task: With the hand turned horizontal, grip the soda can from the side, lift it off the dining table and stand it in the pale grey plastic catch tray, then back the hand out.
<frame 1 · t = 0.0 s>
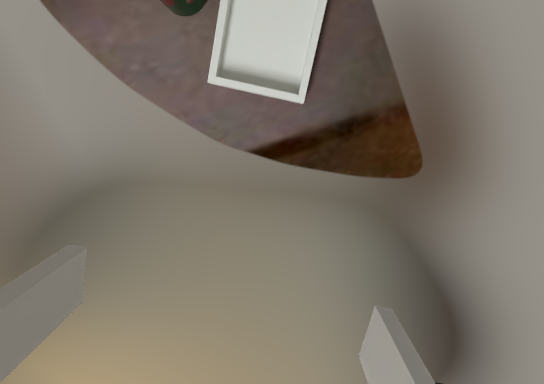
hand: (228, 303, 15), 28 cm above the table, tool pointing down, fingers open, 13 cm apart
catch tray: (269, 31, 38), on the table
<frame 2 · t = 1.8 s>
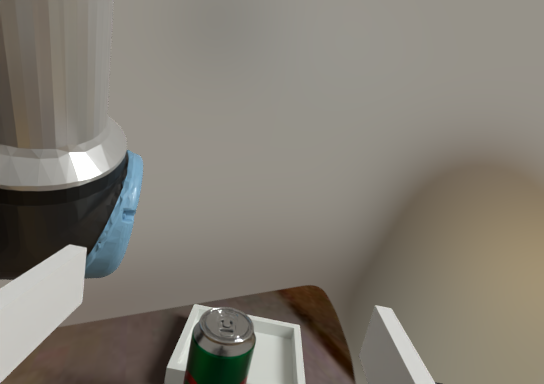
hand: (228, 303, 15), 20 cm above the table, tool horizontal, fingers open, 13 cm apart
catch tray: (238, 361, 39), on the table
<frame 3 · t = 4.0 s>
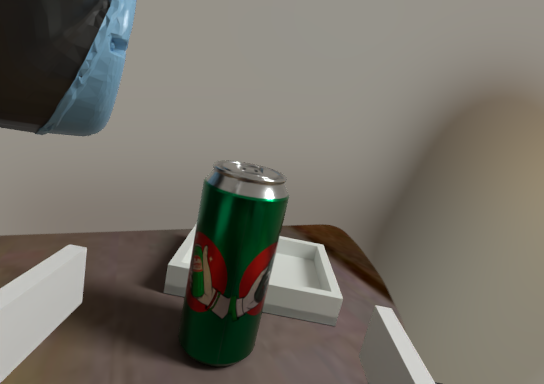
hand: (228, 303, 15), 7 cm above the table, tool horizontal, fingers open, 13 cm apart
soda can: (215, 345, 22), on the table
catch tray: (254, 276, 32), on the table
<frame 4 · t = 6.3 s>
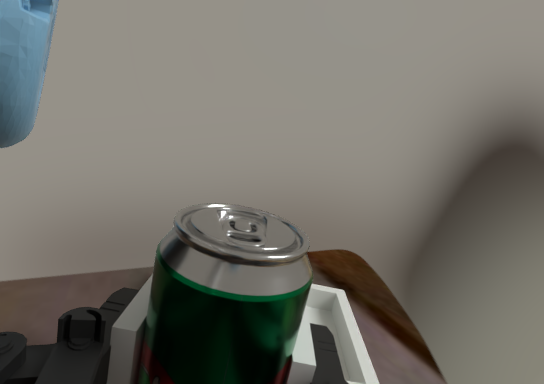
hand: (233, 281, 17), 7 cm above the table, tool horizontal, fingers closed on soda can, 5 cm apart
catch tray: (252, 343, 23), on the table
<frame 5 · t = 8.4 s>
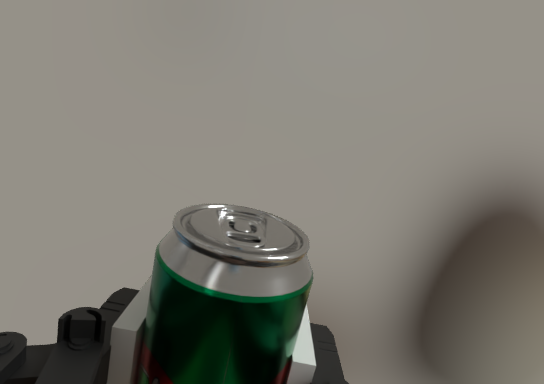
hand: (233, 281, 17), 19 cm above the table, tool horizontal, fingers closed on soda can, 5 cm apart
when the fingers open (9 cm above the table, at t = 10.8 s): soda can drops 1 cm, resting on catch tray.
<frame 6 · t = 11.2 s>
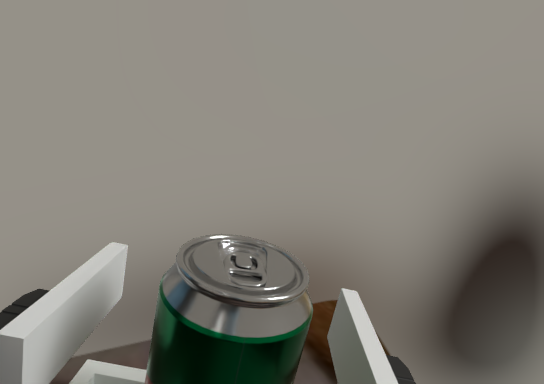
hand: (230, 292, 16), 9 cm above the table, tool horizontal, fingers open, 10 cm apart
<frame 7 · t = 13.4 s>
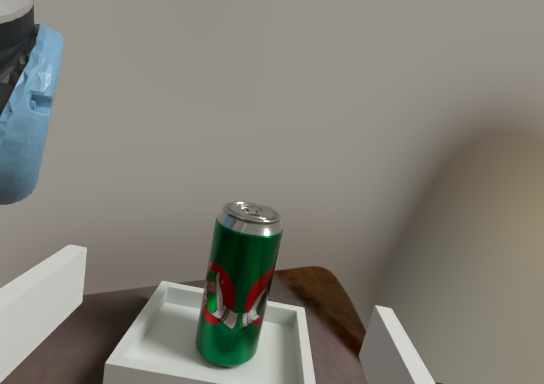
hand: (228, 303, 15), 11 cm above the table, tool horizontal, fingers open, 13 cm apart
soda can: (225, 350, 27), point 1 cm above the table, touching catch tray
catch tray: (220, 356, 27), on the table
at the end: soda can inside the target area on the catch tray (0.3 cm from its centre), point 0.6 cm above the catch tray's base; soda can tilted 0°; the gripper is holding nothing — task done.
